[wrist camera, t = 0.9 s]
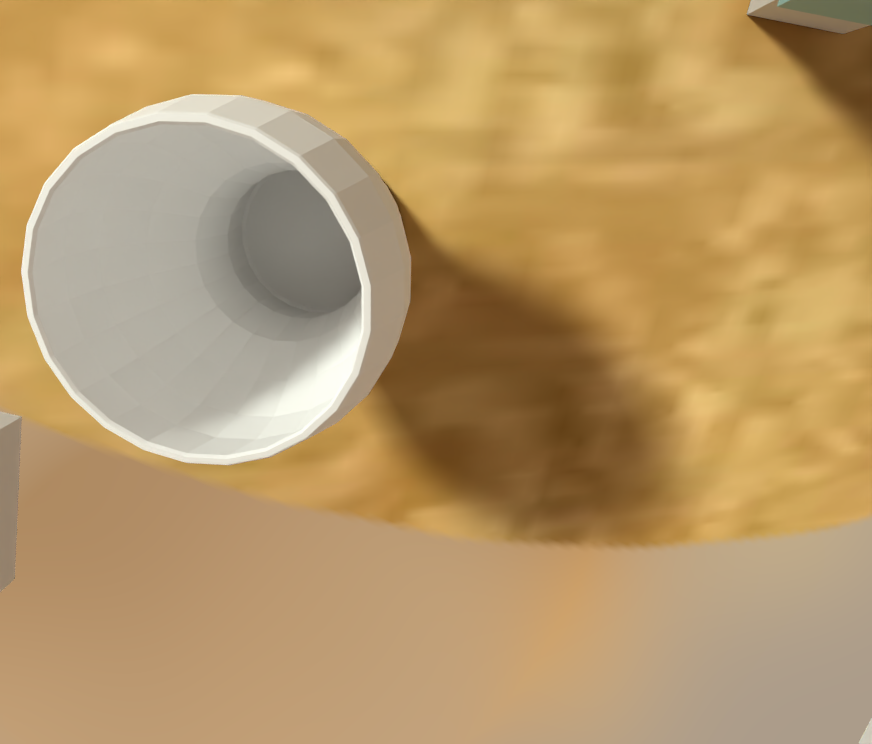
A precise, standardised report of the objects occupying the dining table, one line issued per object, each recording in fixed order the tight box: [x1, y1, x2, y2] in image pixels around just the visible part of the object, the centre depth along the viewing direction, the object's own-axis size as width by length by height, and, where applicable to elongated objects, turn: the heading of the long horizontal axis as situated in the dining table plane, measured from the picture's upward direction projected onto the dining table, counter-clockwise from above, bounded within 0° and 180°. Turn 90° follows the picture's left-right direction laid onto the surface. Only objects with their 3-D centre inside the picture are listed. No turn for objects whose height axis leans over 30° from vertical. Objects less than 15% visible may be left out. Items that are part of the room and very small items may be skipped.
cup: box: [21, 94, 411, 465], centre depth 26 cm, size 11×11×15 cm
